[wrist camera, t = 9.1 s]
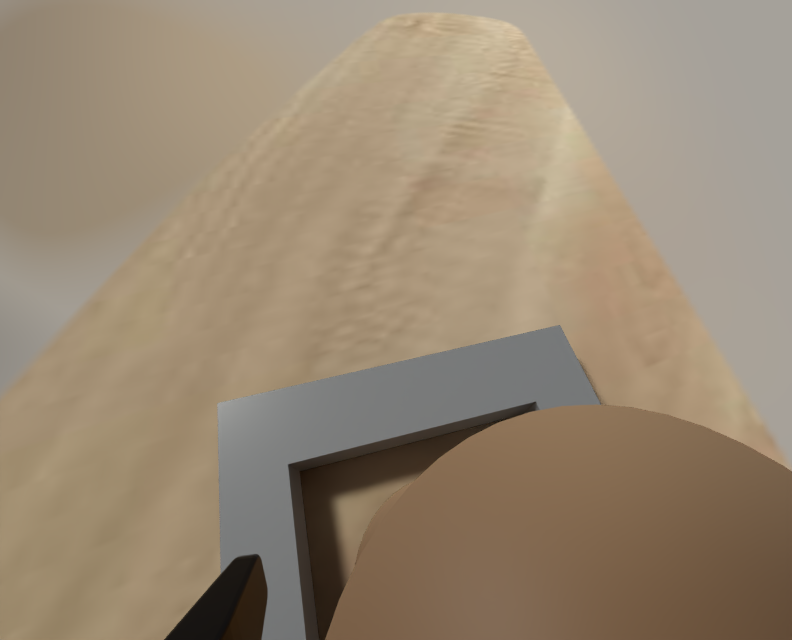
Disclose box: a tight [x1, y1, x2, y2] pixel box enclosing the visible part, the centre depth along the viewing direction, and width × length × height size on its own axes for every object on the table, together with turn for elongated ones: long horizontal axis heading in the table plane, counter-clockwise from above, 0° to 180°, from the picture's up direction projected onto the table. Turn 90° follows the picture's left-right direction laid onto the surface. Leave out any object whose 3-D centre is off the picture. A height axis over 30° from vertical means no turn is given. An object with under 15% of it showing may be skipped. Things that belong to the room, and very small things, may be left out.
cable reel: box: [325, 404, 792, 640], centre depth 8 cm, size 7×7×13 cm
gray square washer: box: [217, 325, 601, 640], centre depth 13 cm, size 16×15×2 cm
